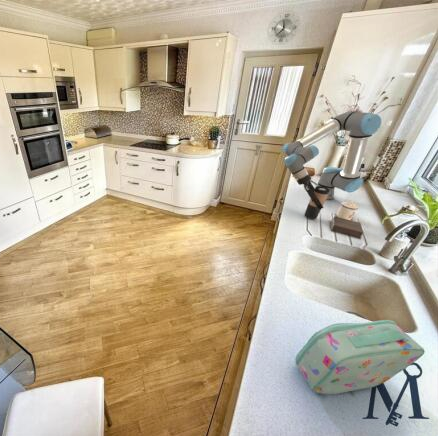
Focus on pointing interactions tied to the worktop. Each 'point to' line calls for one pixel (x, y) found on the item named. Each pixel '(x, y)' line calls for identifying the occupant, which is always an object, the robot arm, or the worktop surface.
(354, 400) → the worktop surface
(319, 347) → the lunch box
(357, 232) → the block
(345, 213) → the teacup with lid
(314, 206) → the travel mug
